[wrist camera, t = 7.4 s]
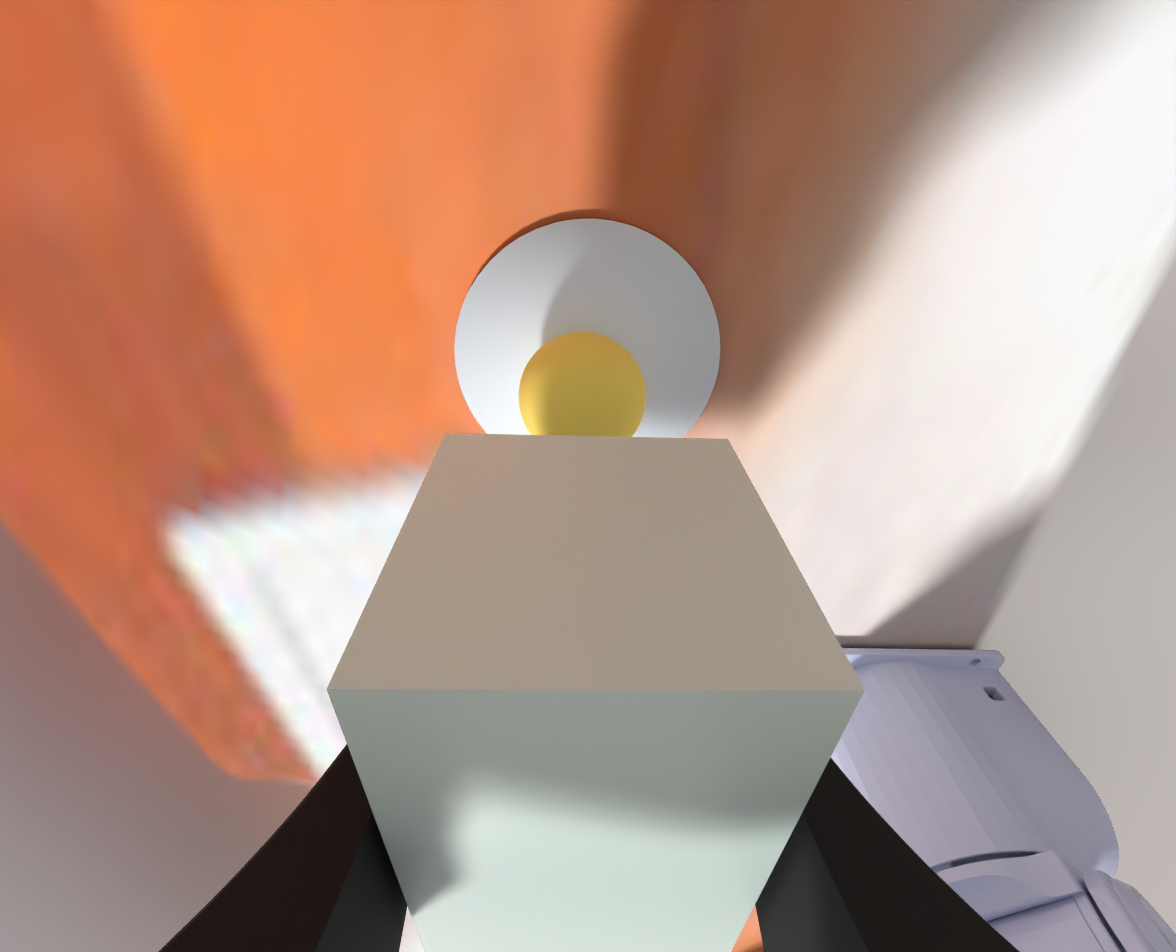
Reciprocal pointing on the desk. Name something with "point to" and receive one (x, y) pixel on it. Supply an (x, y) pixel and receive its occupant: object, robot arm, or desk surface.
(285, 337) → the desk surface
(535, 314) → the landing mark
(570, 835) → the pale mint box
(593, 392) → the ball
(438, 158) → the desk surface
